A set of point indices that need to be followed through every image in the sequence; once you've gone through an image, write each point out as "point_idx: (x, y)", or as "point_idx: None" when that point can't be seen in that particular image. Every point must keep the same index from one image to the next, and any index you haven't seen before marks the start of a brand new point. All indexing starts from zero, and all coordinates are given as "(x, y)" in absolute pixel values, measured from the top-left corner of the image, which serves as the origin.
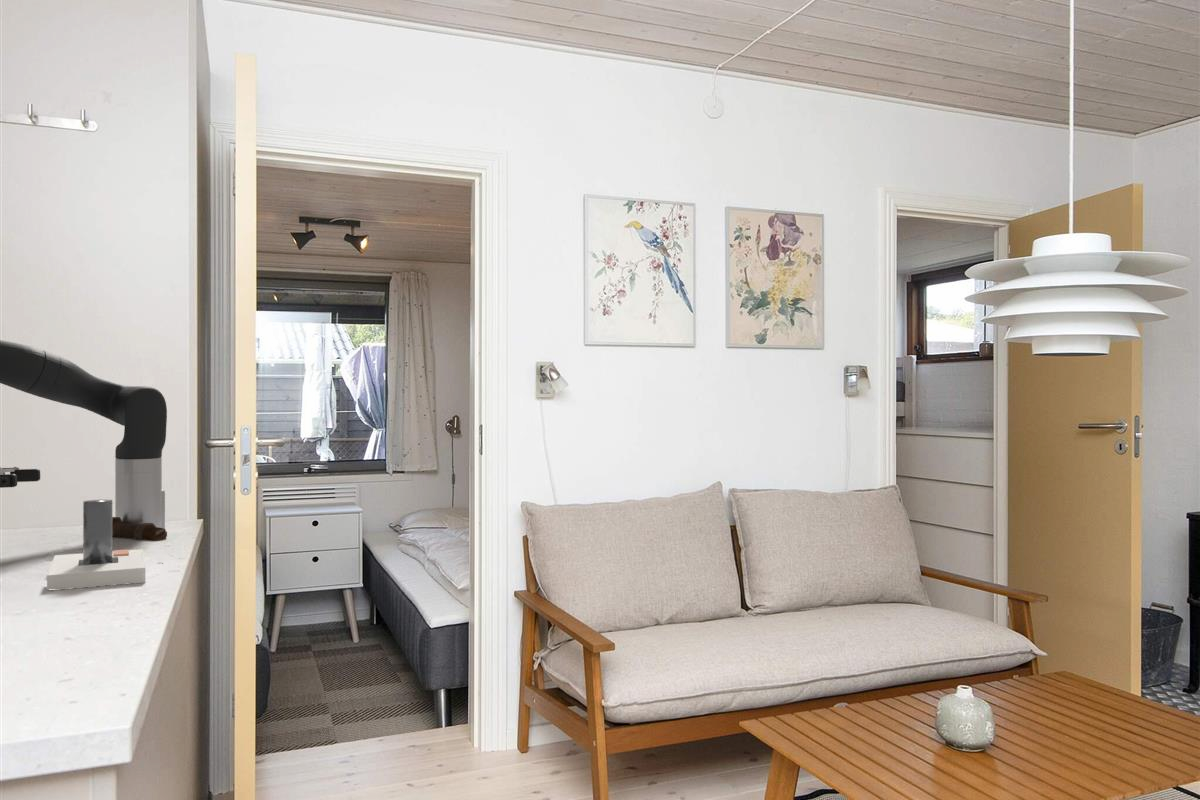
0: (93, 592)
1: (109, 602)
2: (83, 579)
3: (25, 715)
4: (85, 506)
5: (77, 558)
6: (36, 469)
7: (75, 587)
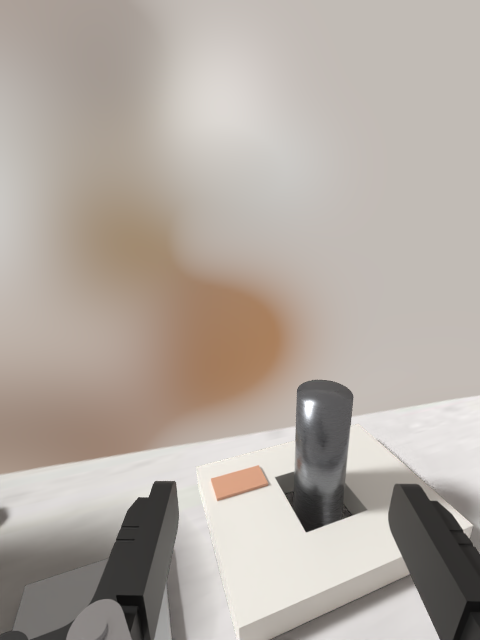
0: (436, 475)
1: (474, 442)
2: None
3: None
4: (350, 410)
5: (288, 543)
6: (172, 483)
7: None
